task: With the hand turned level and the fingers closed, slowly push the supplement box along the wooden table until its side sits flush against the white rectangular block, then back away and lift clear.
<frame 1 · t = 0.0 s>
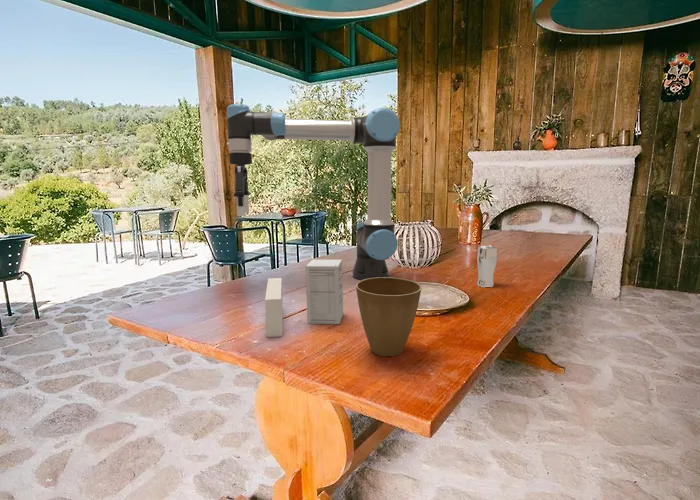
hand: (243, 214, 136), 28 cm above the table, tool pointing down, fingers open, 13 cm apart
white rectangular block: (275, 321, 110), on the table
beer glass: (485, 286, 147), on the table
supplement box: (325, 319, 112), on the table
brown bark piece: (319, 299, 132), on the table
plant pot: (387, 351, 91), on the table
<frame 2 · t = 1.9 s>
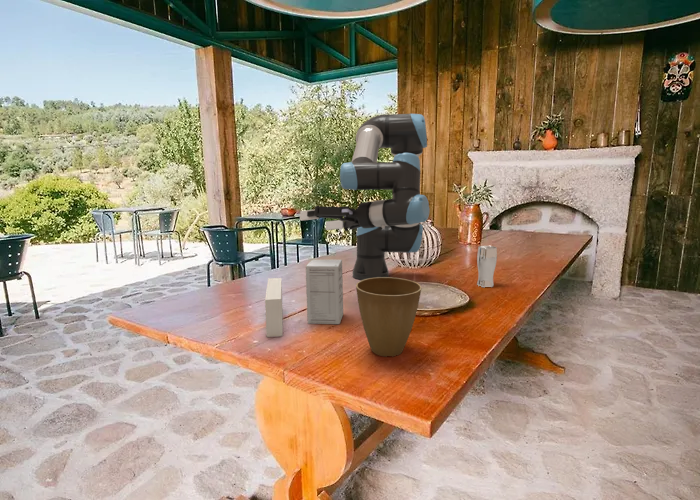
hand: (314, 221, 121), 27 cm above the table, tool horizontal, fingers open, 13 cm apart
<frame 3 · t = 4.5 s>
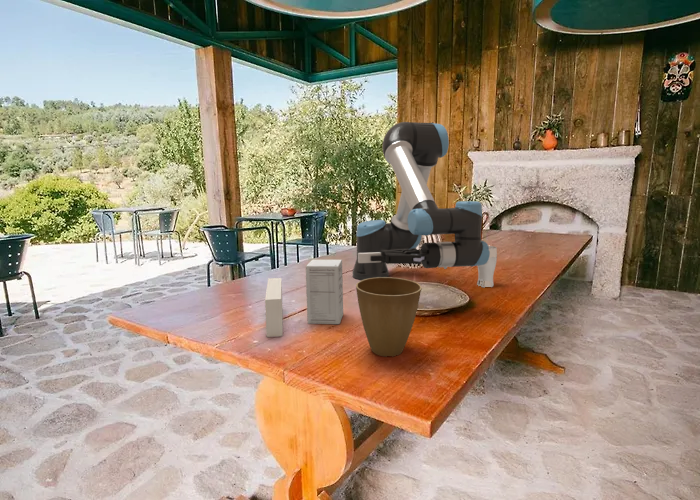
hand: (358, 258, 110), 18 cm above the table, tool horizontal, fingers closed
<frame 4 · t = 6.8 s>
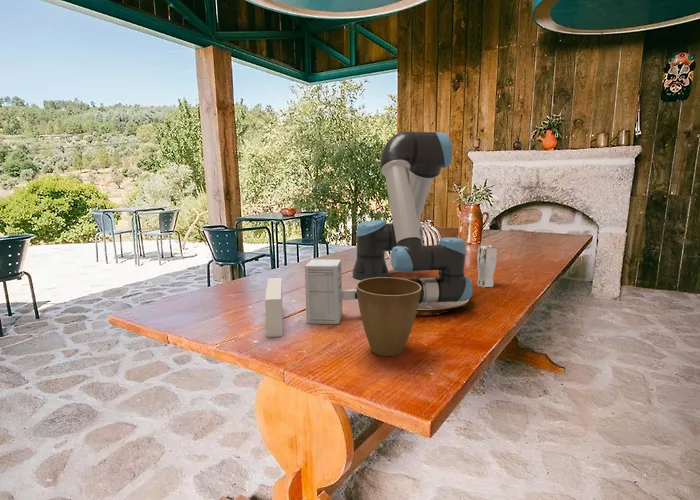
hand: (342, 295, 111), 7 cm above the table, tool horizontal, fingers closed
supplement box: (325, 319, 112), on the table, touching gripper
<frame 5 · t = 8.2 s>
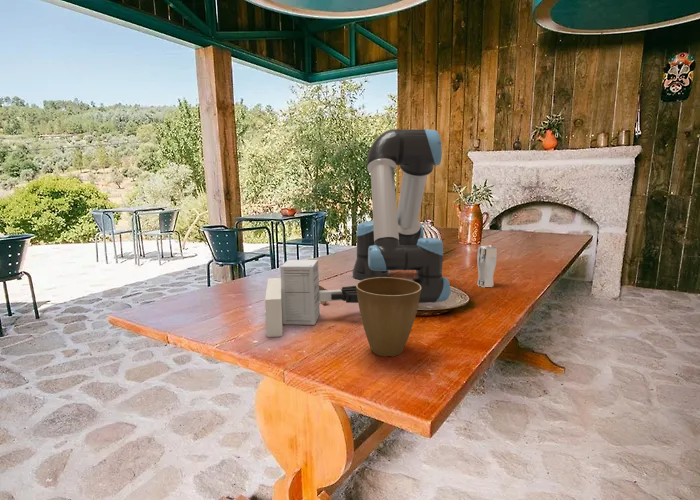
hand: (319, 296, 110), 7 cm above the table, tool horizontal, fingers closed
supplement box: (301, 319, 112), on the table, touching white rectangular block, gripper
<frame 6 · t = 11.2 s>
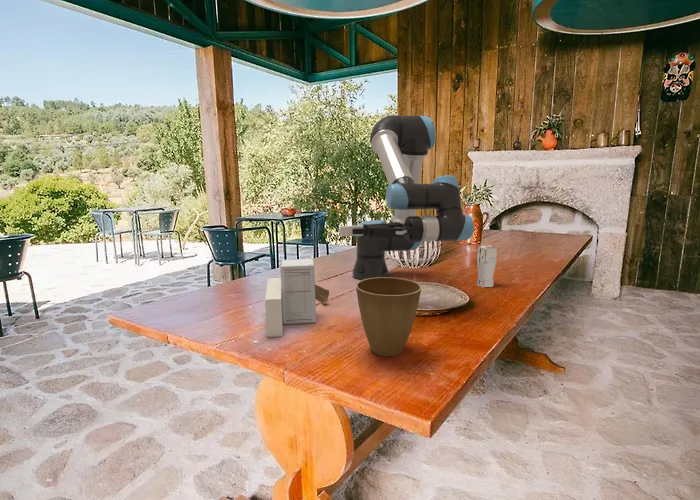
hand: (340, 231, 108), 26 cm above the table, tool horizontal, fingers closed
supplement box: (299, 318, 112), on the table, touching white rectangular block
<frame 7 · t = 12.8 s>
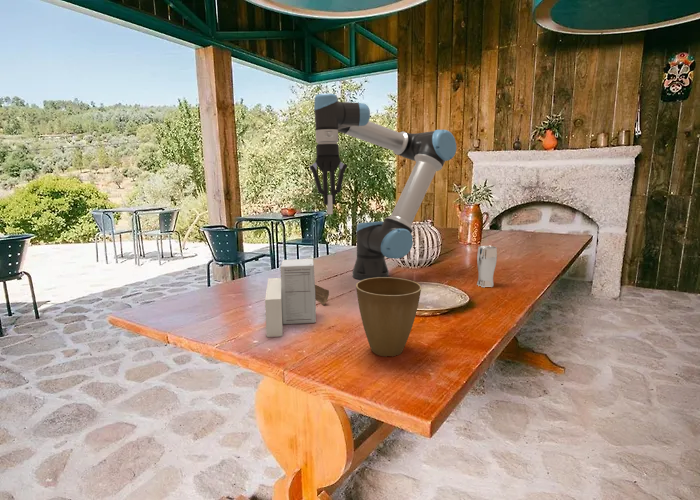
hand: (330, 213, 134), 28 cm above the table, tool pointing down, fingers closed
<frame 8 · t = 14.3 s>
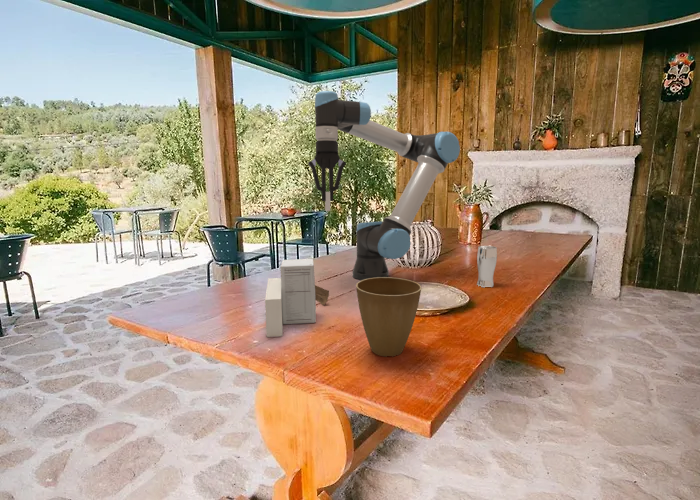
hand: (327, 210, 134), 29 cm above the table, tool pointing down, fingers closed
at the end: supplement box inside the target area on the table beside the white rectangular block (1.5 cm from its centre), on the table; supplement box tilted 0° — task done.
